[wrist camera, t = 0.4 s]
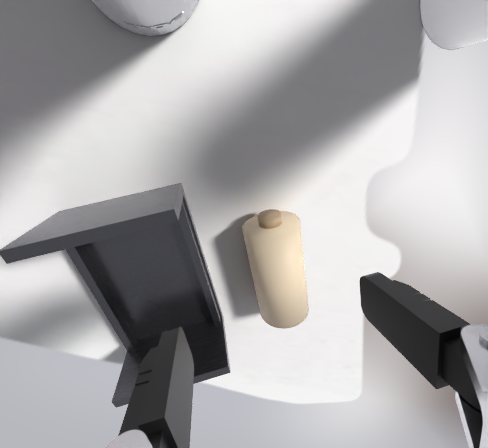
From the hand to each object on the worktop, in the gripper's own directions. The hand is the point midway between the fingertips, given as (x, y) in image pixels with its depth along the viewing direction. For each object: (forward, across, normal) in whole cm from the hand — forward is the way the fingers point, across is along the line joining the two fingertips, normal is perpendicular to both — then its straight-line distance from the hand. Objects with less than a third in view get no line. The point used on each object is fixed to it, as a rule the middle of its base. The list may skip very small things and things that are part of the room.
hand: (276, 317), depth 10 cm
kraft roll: (+18, -4, +6) cm, 19 cm away
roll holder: (+18, +10, +4) cm, 21 cm away
